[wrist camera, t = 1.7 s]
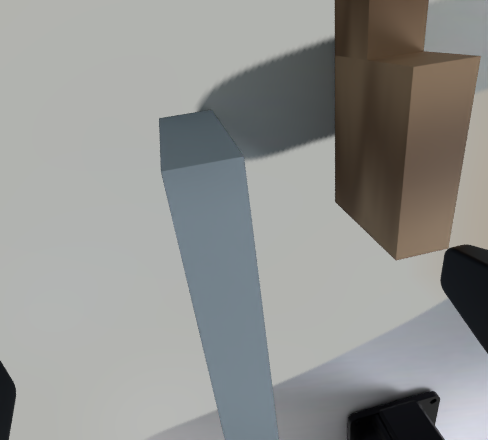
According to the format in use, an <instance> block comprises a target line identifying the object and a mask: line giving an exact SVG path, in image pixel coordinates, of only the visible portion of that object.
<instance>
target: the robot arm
mask: <svg viewBox="0 0 488 440" xmlns="http://www.w3.org/2000/svg"><path fill="white" fill-rule="evenodd" d="M441 286H442V288H443V290H444V292H445V294H446V295H447V296H448V298H449V299H450V301H451V302H452V304H453V305H454V307H455V308H456V309H457V311H458V312H459V314H460V315H461V317H462V318H463V319H464V321H465V322H466V324H467V325H468V327H469V328H470V329H471V331H472V332H473V334H474V335H475V337H476V338H477V340H478V341H479V342H480V344H481V345H482V346H483V348H484V349H485V350H486V352H487V353H488V250H486V249H482V248H479V247H475V246H471V245H460V246H456V247H452V248H449V249H448V250H447V251H446V252H445V255H444V261H443V267H442V273H441ZM15 399H16V388H15V385H14V383H13V381H12V379H11V377H10V376H9V374H8V372H7V371H6V369H5V367H4V366H3V364H2V363H1V361H0V440H9V435H10V429H11V423H12V416H13V411H14V405H15ZM439 402H440V397H439V396H438V395H437V393H436V392H434V391H431V392H427V393H424V394H420V395H417V396H413V397H410V398H406V399H403V400H399V401H395V402H392V403H388V404H385V405H381V406H378V407H374V408H371V409H367V410H364V411H360V412H357V413H354V414H352V415H350V416H349V417H348V426H347V440H445V439H444V438H443V436H442V435H441V434H440V432H439V431H438V429H437V428H436V426H435V422H436V417H437V412H438V407H439Z"/></svg>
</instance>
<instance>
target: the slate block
mask: <svg viewBox="0 0 488 440" xmlns="http://www.w3.org/2000/svg"><path fill="white" fill-rule="evenodd" d="M159 127H160V157H161V173H162V178H163V182H164V186H165V190H166V194H167V198H168V203H169V207H170V211H171V215H172V220H173V224H174V228H175V232H176V236H177V240H178V245H179V249H180V253H181V257H182V262H183V266H184V270H185V274H186V278H187V283H188V287H189V291H190V295H191V299H192V303H193V308H194V312H195V316H196V320H197V325H198V329H199V333H200V337H201V341H202V345H203V350H204V353H205V358H206V362H207V366H208V371H209V375H210V379H211V383H212V387H213V392H214V396H215V400H216V404H217V408H218V413H219V417H220V421H221V425H222V429H223V434H224V438H225V440H279V437H278V429H277V421H276V412H275V404H274V396H273V388H272V380H271V372H270V364H269V356H268V349H267V340H266V332H265V324H264V315H263V307H262V299H261V291H260V283H259V275H258V267H257V259H256V251H255V243H254V235H253V227H252V218H251V210H250V203H249V194H248V186H247V178H246V170H245V162H244V156H243V154H242V153H241V152H240V150H239V149H238V147H237V146H236V144H235V143H234V141H233V140H232V139H231V137H230V136H229V134H228V133H227V131H226V130H225V128H224V127H223V126H222V124H221V123H220V121H219V120H218V118H217V117H216V115H215V114H214V113H213V111H212V110H207V111H201V112H195V113H189V114H183V115H177V116H171V117H165V118H160V119H159Z"/></svg>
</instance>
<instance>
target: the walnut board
mask: <svg viewBox="0 0 488 440" xmlns="http://www.w3.org/2000/svg"><path fill="white" fill-rule="evenodd" d="M428 1H429V0H335V202H336V203H337V204H338V205H339V206H340V207H341V208H342V209H343V210H344V211H345V212H346V213H347V214H348V215H349V216H350V217H352V219H354V220H355V221H356V222H357V223H358V224H359V225H360V226H361V227H362V228H363V229H364V230H365V231H366V232H367V233H368V234H369V235H370V236H371V237H372V238H373V239H374V240H375V241H376V242H377V243H378V244H379V245H381V246H382V247H383V248H384V249H385V250H386V251H387V252H388V253H389V254H390V255H391V256H392V257H393V258H394V259H395V260H399V259H404V258H408V257H412V256H417V255H421V254H426V253H430V252H434V251H438V250H443V249H447V248H448V247H449V241H450V235H451V229H452V223H453V217H454V212H455V205H456V200H457V194H458V187H459V182H460V176H461V170H462V164H463V158H464V152H465V146H466V140H467V133H468V129H469V123H470V117H471V111H472V105H473V98H474V93H475V87H476V81H477V75H478V69H479V63H480V58H481V56H473V55H461V54H449V53H437V52H425V51H424V41H425V31H426V21H427V11H428Z"/></svg>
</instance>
